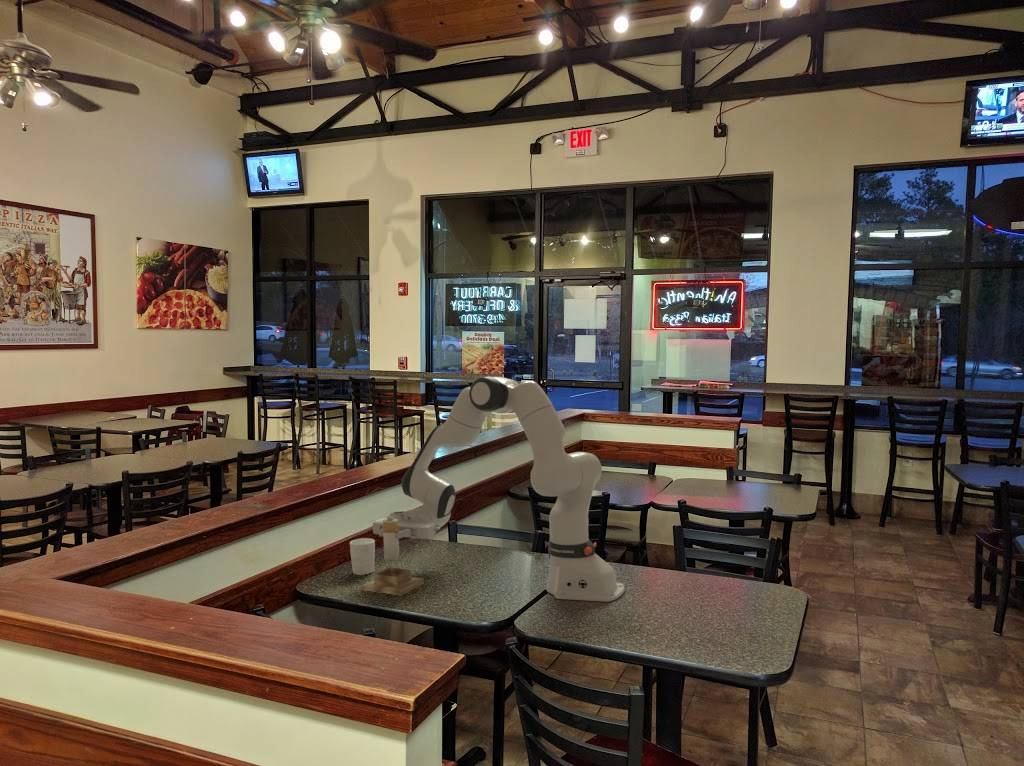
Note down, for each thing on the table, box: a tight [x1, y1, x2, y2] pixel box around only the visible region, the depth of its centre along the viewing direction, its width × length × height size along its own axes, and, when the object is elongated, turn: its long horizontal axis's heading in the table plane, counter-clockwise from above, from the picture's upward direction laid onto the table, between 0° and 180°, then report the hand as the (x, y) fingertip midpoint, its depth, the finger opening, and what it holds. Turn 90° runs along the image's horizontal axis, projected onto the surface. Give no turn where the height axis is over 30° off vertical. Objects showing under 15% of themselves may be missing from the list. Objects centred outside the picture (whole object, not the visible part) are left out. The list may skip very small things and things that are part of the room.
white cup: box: [349, 537, 376, 576], centre depth 228 cm, size 8×8×10 cm
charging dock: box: [361, 567, 425, 597], centre depth 212 cm, size 14×12×4 cm
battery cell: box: [382, 517, 400, 561], centre depth 212 cm, size 4×4×12 cm
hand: (389, 534), depth 211 cm, fingers closed on battery cell, 4 cm apart
